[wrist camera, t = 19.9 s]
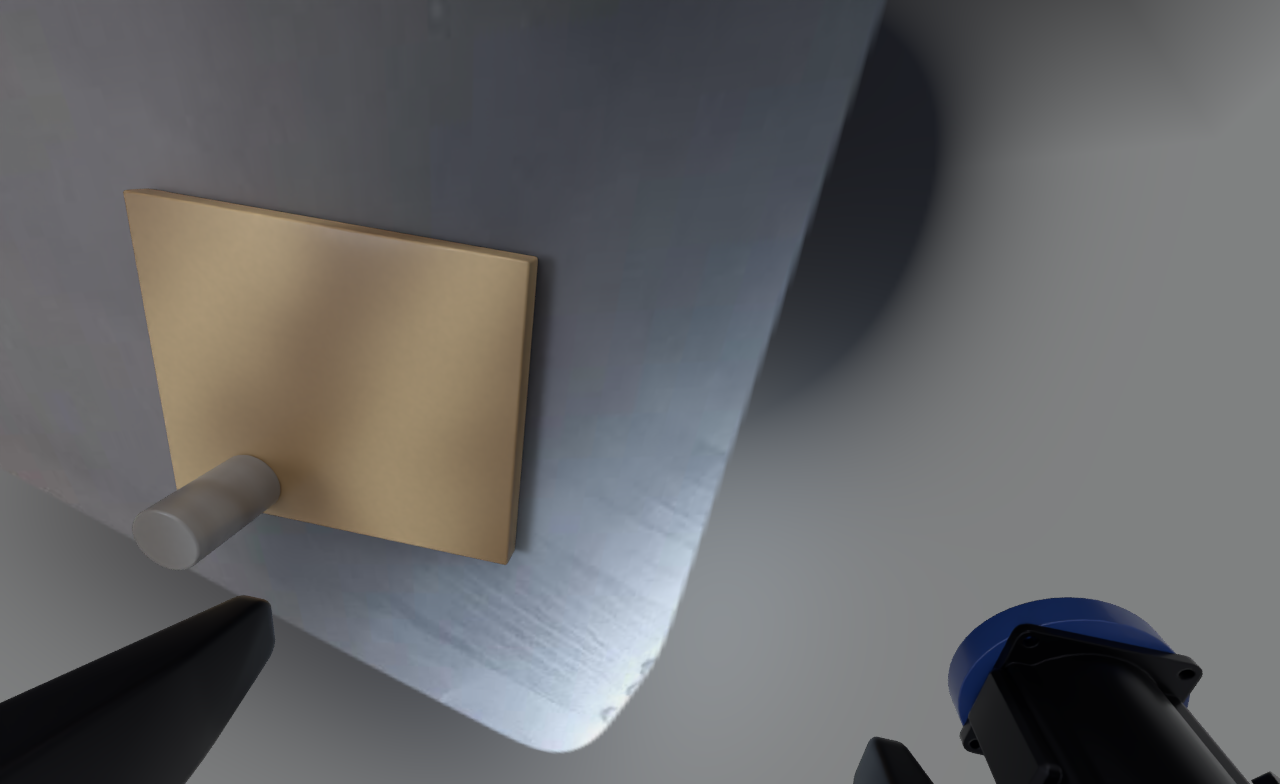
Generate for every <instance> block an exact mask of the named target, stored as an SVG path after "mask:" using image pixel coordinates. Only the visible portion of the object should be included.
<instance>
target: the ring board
mask: <svg viewBox="0 0 1280 784" xmlns="http://www.w3.org/2000/svg"><path fill="white" fill-rule="evenodd" d="M123 193H124V199H125V204H126V210H127V215H128V221H129V226H130V232H131V237H132V243H133V248H134V254H135V260H136V265H137V271H138V276H139V282H140V287H141V293H142V298H143V304H144V309H145V315H146V321H147V326H148V332H149V337H150V343H151V348H152V354H153V359H154V365H155V370H156V376H157V381H158V387H159V393H160V398H161V404H162V409H163V415H164V420H165V426H166V431H167V437H168V442H169V448H170V453H171V459H172V465H173V470H174V476H175V481H176V487H177V491H175V492H174V493H172V494H170V495H169V496H167V497H165V498H164V499H162V500H160V501H159V502H157V503H155V504H154V505H152V506H150V507H149V508H147V509H146V510H144V511H142V512H141V513H139V514H138V515H137V517H136V518H135V520H134V522H133V526H132V531H133V536H134V539H135V541H136V543H137V545H138V546H139V548H140V549H141V550H142V552H143V553H144V554H146V556H147V557H149V558H150V559H151V560H152V561H154V562H156V563H157V564H159V565H161V566H163V567H166V568H169V569H173V570H184V569H188V568H190V567H192V566H194V565H195V564H197V563H198V562H199V561H200V560H202V559H203V558H204V557H206V556H207V555H208V554H210V553H211V552H212V551H214V550H215V549H216V548H217V547H219V546H220V545H221V544H223V543H224V542H225V541H227V540H228V539H229V538H230V537H232V536H233V535H234V534H236V533H237V532H238V531H240V530H241V529H242V528H243V527H245V526H246V525H247V524H249V523H250V522H251V521H253V520H254V519H255V518H257V517H258V516H259V515H260V514H262V513H266V514H270V515H275V516H280V517H284V518H289V519H294V520H298V521H303V522H308V523H312V524H317V525H322V526H326V527H331V528H336V529H340V530H345V531H350V532H354V533H359V534H364V535H368V536H373V537H378V538H382V539H387V540H392V541H396V542H401V543H406V544H410V545H415V546H420V547H424V548H429V549H434V550H438V551H443V552H448V553H452V554H457V555H462V556H466V557H471V558H476V559H480V560H485V561H490V562H494V563H499V564H504V565H506V564H507V563H508V562H509V560H510V558H511V556H512V554H513V552H514V551H515V540H516V528H517V515H518V503H519V490H520V478H521V465H522V453H523V440H524V428H525V415H526V403H527V390H528V378H529V365H530V353H531V340H532V328H533V315H534V303H535V290H536V278H537V265H538V259H537V257H535V256H529V255H523V254H517V253H512V252H506V251H500V250H495V249H489V248H483V247H478V246H472V245H466V244H461V243H455V242H449V241H444V240H438V239H432V238H426V237H421V236H415V235H409V234H404V233H398V232H392V231H387V230H381V229H375V228H370V227H364V226H358V225H353V224H347V223H341V222H335V221H330V220H324V219H318V218H313V217H307V216H301V215H296V214H290V213H284V212H279V211H273V210H267V209H262V208H256V207H250V206H244V205H239V204H233V203H227V202H222V201H216V200H210V199H205V198H199V197H193V196H188V195H182V194H176V193H171V192H165V191H159V190H153V189H132V190H125V191H124V192H123Z"/></svg>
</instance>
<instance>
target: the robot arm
mask: <svg viewBox="0 0 1280 784" xmlns="http://www.w3.org/2000/svg"><path fill="white" fill-rule="evenodd" d="M1027 637H1031V638H1029V639H1025V638H1027ZM274 644H275V635H274V627H273V619H272V610H271V605H270V604H269V602H268V601H266V600H264V599H260V598H255V597H251V596H245V595H243V596H237V597H235V598H232V599H230V600H228V601H225V602H223V603H221V604H219V605H217V606H214V607H212V608H210V609H208V610H206V611H203V612H201V613H199V614H197V615H195V616H192V617H190V618H188V619H186V620H183V621H181V622H179V623H177V624H174V625H172V626H170V627H168V628H166V629H163V630H161V631H159V632H157V633H154V634H152V635H150V636H148V637H146V638H144V639H141V640H139V641H137V642H134V643H133V644H130V645H128V646H126V647H124V648H121V649H119V650H117V651H115V652H112V653H110V654H108V655H106V656H104V657H101V658H99V659H97V660H95V661H92V662H90V663H88V664H86V665H84V666H81V667H79V668H77V669H75V670H73V671H70V672H68V673H66V674H64V675H61V676H59V677H57V678H55V679H53V680H50V681H48V682H46V683H44V684H42V685H39V686H37V687H35V688H32V689H30V690H28V691H26V692H24V693H21V694H19V695H17V696H15V697H13V698H10V699H8V700H6V701H4V702H1V703H0V784H185V783H186V782H187V780H188V779H189V778H190V777H191V775H192V774H193V773H194V771H195V770H196V769H197V767H198V766H199V764H200V763H201V762H202V760H203V759H204V758H205V756H206V755H207V753H208V752H209V750H210V749H211V747H212V746H213V745H214V743H215V741H216V740H217V738H218V737H219V735H220V734H221V732H222V731H223V729H224V728H225V726H226V725H227V723H228V721H229V720H230V718H231V717H232V715H233V714H234V712H235V710H236V709H237V707H238V706H239V704H240V703H241V701H242V700H243V698H244V696H245V695H246V693H247V692H248V690H249V689H250V687H251V685H252V684H253V683H254V681H255V680H256V678H257V676H258V675H259V673H260V672H261V670H262V669H263V667H264V666H265V664H266V662H267V661H268V659H269V658H270V656H271V654H272V651H273V648H274ZM1201 677H1202V669H1201V668H1200V667H1199V666H1198V665H1197V664H1196V663H1195V662H1194V661H1193V660H1192V659H1191V658H1190V657H1187V656H1184V655H1179V654H1174V653H1169V652H1164V651H1160V650H1155V649H1150V648H1145V647H1140V646H1136V645H1131V644H1126V643H1121V642H1116V641H1111V640H1107V639H1102V638H1097V637H1092V636H1087V635H1083V634H1078V633H1073V632H1068V631H1063V630H1059V629H1054V628H1049V627H1044V626H1039V625H1035V624H1027V623H1025V624H1020V625H1018V626H1016V627H1015V628H1014V629H1013V630H1012V632H1011V634H1010V636H1009V638H1008V640H1007V642H1006V644H1005V646H1004V648H1003V650H1002V651H1001V653H1000V655H999V657H998V659H997V661H996V663H995V665H994V667H993V669H992V671H991V672H990V673H989V675H988V677H987V679H986V681H985V683H984V684H983V686H982V688H981V690H980V692H979V694H978V696H977V698H976V700H975V702H974V704H973V706H972V708H971V710H970V712H969V714H968V718H967V720H966V722H965V724H964V726H963V728H962V730H961V732H960V739H961V741H962V744H963V746H964V748H965V749H966V750H967V751H969V752H972V753H976V754H980V755H984V756H985V758H986V761H987V763H988V765H989V768H990V770H991V772H992V775H993V777H994V779H995V782H996V784H1250V783H1249V782H1248V781H1247V780H1246V779H1245V777H1244V776H1243V775H1242V774H1241V773H1240V771H1239V770H1238V769H1237V768H1236V767H1235V766H1234V764H1233V763H1232V762H1231V761H1230V759H1229V758H1228V757H1227V756H1226V754H1225V753H1224V752H1223V751H1222V750H1221V749H1220V747H1219V746H1218V745H1217V744H1216V742H1214V740H1213V739H1212V738H1211V737H1210V735H1209V734H1208V733H1207V732H1206V730H1205V729H1204V728H1203V727H1202V726H1201V724H1200V723H1199V722H1198V721H1197V720H1196V719H1195V717H1194V716H1193V715H1192V714H1191V712H1190V711H1189V710H1188V709H1187V708H1186V706H1185V705H1184V704H1183V703H1184V702H1185V700H1186V699H1187V697H1188V696H1189V694H1190V693H1191V692H1192V690H1193V689H1194V687H1195V686H1196V684H1197V683H1198V682H1199V680H1200V679H1201ZM1251 781H1252V783H1253V784H1280V779H1279V778H1278V777H1277V776H1276V775H1274V774H1273V773H1272V772H1267V773H1265V774H1263V775H1261V776H1259V777H1257V778H1255V779H1253V780H1251ZM853 784H933V782H932V781H931V780H930V778H929V777H928V775H927V774H926V773H925V771H924V770H923V769H922V767H921V766H920V765H919V763H918V762H917V761H916V759H915V758H914V757H913V755H912V754H911V753H910V751H909V750H908V749H907V747H905V746H904V745H903V744H902V743H900V742H898V741H894V740H889V739H885V738H880V737H873V738H872V739H870V741H869V742H868V744H867V747H866V749H865V752H864V754H863V756H862V759H861V761H860V763H859V766H858V768H857V770H856V773H855V776H854V783H853Z"/></svg>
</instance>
